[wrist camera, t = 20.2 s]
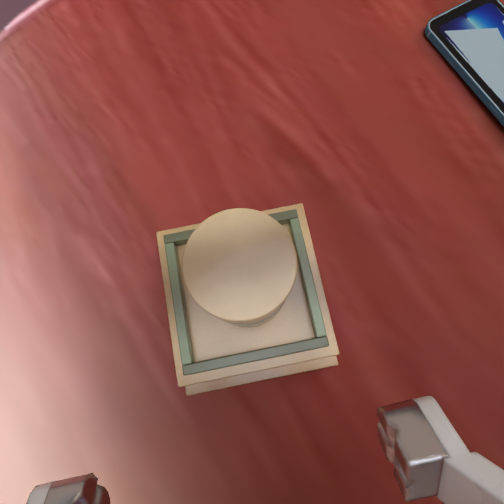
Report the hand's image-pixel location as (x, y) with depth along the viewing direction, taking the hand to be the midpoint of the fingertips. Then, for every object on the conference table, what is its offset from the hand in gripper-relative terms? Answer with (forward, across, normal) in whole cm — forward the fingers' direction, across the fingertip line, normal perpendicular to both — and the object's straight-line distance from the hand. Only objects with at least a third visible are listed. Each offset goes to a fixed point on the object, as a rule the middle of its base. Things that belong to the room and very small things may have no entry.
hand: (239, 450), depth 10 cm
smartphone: (+27, -27, -2) cm, 38 cm away
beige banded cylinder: (+13, -1, +4) cm, 13 cm away
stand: (+16, -1, +8) cm, 18 cm away
